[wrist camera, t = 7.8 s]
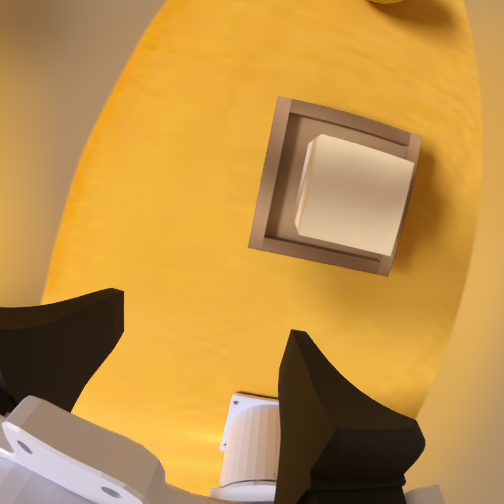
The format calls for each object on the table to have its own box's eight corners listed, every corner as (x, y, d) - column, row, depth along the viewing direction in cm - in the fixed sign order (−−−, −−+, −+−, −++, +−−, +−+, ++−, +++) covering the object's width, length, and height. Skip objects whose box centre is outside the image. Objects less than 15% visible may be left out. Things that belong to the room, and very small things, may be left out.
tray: (373, 261, 21) (388, 276, 18) (251, 235, 21) (247, 247, 18) (401, 140, 18) (421, 137, 15) (277, 107, 18) (277, 96, 15)
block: (362, 233, 18) (390, 256, 13) (292, 216, 18) (298, 234, 13) (379, 162, 17) (414, 163, 12) (308, 143, 17) (321, 134, 12)
